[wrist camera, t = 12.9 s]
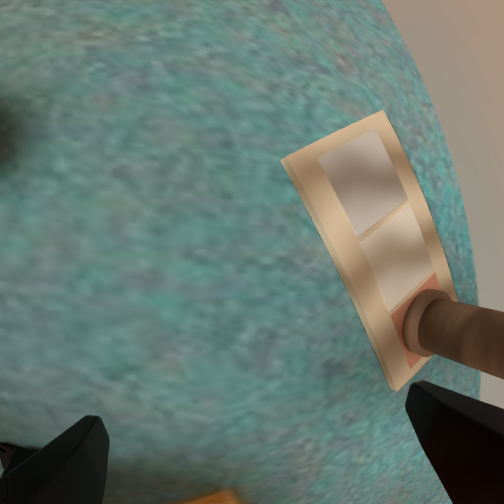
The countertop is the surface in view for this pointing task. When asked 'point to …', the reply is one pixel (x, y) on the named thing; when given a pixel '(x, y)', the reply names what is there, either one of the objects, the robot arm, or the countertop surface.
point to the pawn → (455, 331)
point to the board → (373, 231)
